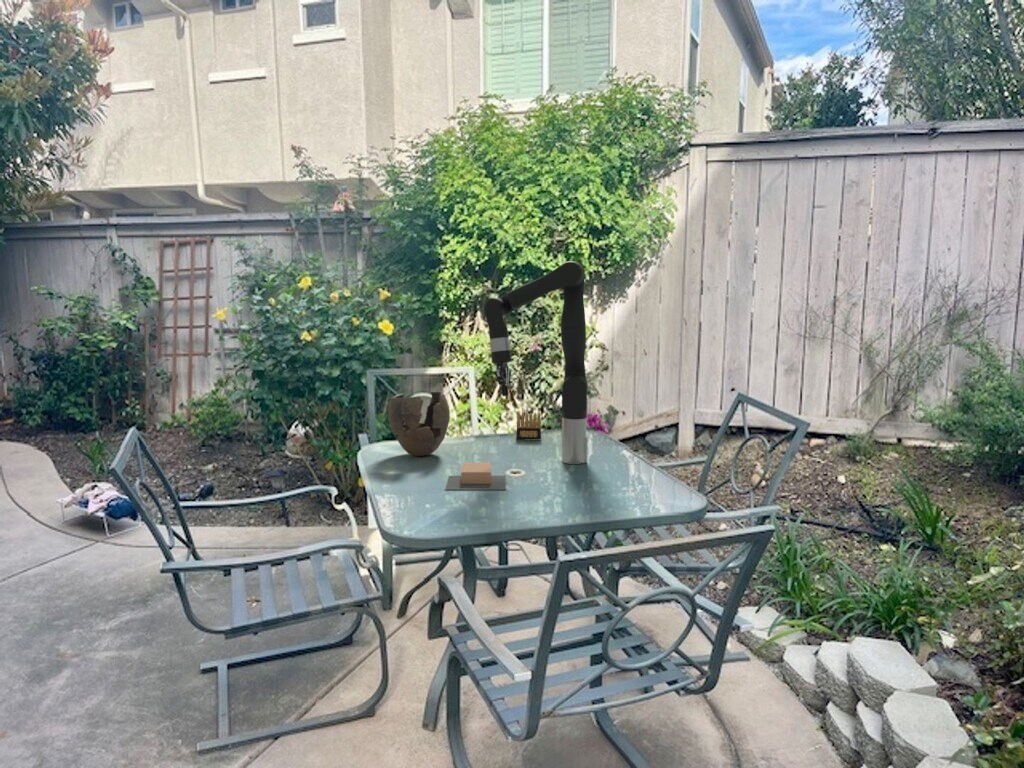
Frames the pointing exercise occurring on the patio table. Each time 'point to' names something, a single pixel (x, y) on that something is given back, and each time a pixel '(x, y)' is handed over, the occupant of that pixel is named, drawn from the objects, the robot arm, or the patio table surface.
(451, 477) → the charcoal mat
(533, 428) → the ammunition clip
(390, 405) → the clay pot
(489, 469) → the peach block
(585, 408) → the robot arm
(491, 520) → the patio table surface
